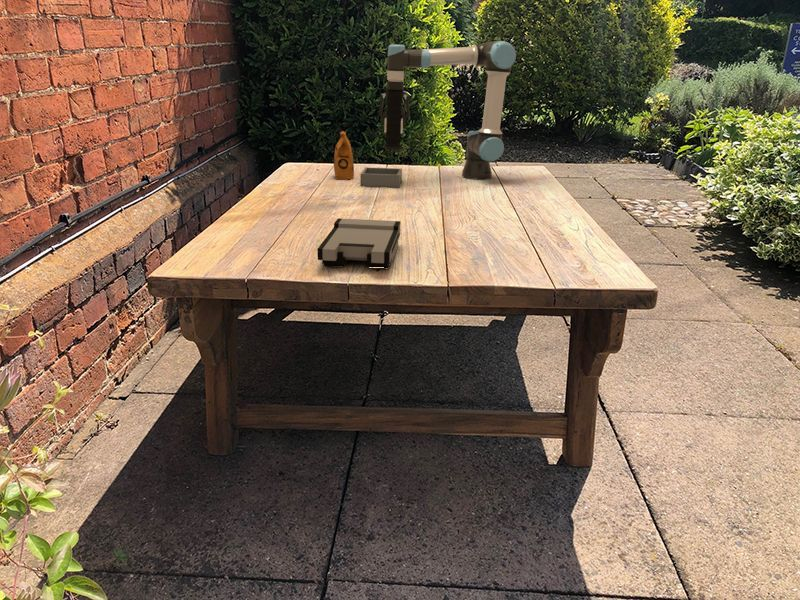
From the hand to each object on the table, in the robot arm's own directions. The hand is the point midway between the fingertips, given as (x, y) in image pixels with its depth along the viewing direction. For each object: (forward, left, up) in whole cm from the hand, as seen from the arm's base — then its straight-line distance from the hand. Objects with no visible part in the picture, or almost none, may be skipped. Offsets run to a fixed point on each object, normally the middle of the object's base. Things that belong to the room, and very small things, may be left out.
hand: (393, 132), depth 314 cm
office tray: (-1, +121, -24) cm, 123 cm away
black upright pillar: (0, 0, -7) cm, 7 cm away
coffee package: (+25, -11, -24) cm, 37 cm away
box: (+5, +1, -24) cm, 24 cm away
